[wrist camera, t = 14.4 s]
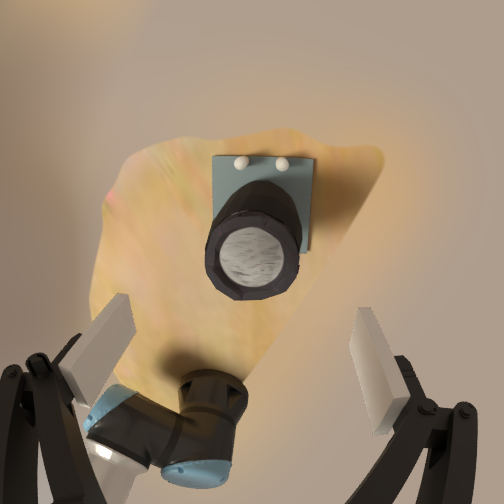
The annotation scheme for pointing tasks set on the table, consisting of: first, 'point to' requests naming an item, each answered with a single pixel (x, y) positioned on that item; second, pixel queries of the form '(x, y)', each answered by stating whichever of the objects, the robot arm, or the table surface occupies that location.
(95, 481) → the robot arm
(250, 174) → the pin pad
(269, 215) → the portable speaker
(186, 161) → the table surface
